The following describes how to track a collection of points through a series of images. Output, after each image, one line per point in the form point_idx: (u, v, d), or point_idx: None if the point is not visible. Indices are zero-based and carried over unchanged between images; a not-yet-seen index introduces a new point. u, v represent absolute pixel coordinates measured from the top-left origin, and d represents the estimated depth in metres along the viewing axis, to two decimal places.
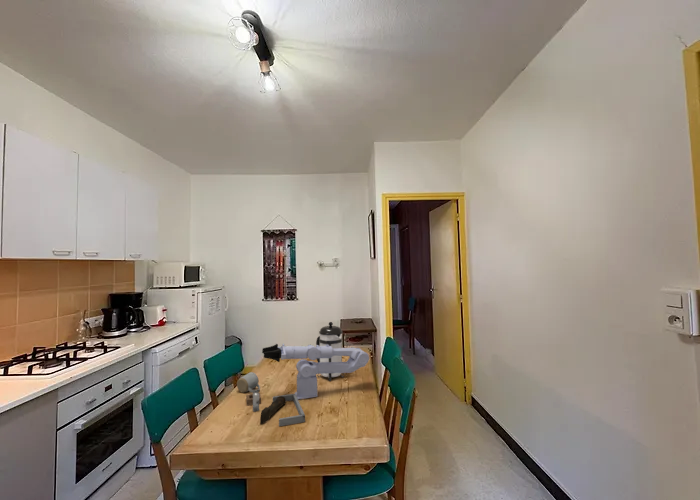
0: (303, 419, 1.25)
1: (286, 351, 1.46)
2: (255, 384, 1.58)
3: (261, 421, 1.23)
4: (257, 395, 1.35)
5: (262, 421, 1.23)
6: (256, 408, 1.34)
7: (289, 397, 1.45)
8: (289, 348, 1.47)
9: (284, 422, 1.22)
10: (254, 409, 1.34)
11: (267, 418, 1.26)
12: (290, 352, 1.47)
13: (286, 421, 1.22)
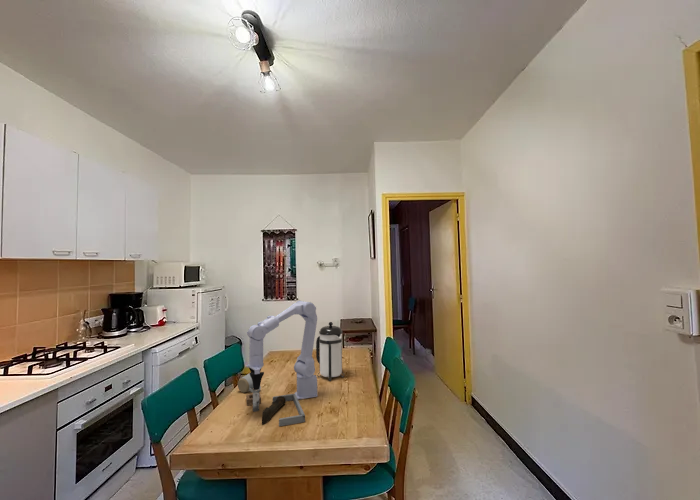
0: (303, 419, 1.25)
1: (253, 364, 1.33)
2: None
3: (262, 421, 1.23)
4: (257, 395, 1.35)
5: (263, 421, 1.23)
6: (256, 408, 1.34)
7: (289, 397, 1.45)
8: (250, 360, 1.34)
9: (284, 422, 1.22)
10: (254, 409, 1.34)
11: (268, 418, 1.26)
12: (255, 359, 1.34)
13: (286, 421, 1.22)
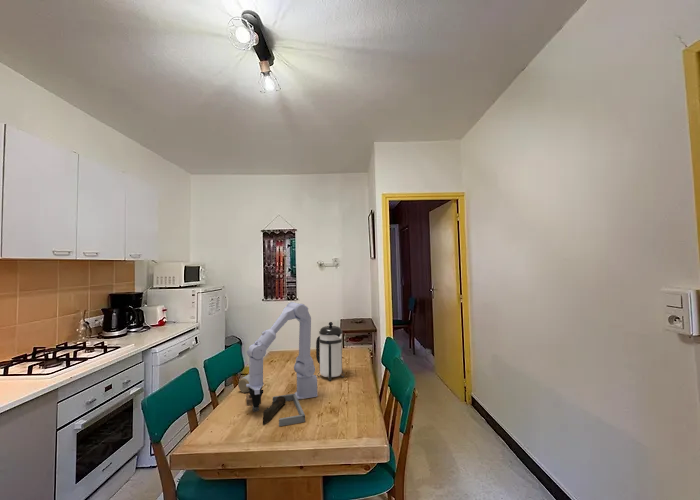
0: (303, 419, 1.25)
1: (253, 383, 1.33)
2: None
3: (263, 421, 1.23)
4: None
5: (264, 421, 1.23)
6: (256, 408, 1.34)
7: (289, 397, 1.45)
8: (250, 379, 1.34)
9: (284, 422, 1.22)
10: (254, 409, 1.34)
11: (269, 418, 1.26)
12: (254, 379, 1.33)
13: (286, 421, 1.22)
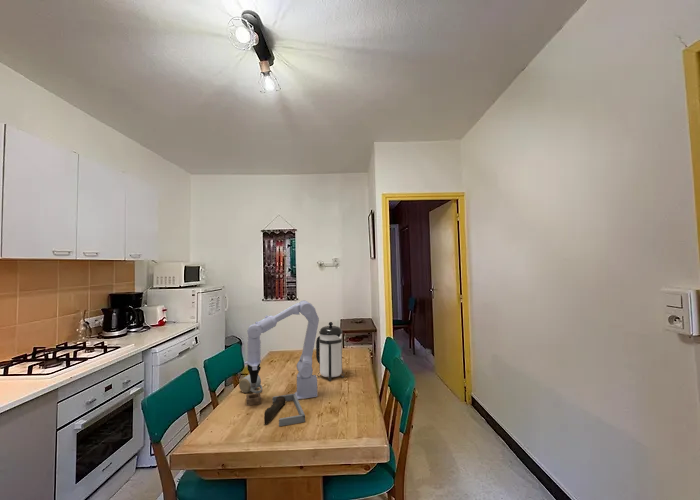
0: (303, 419, 1.25)
1: (251, 360, 1.42)
2: (257, 384, 1.57)
3: (265, 421, 1.23)
4: None
5: (266, 421, 1.23)
6: (253, 384, 1.43)
7: (289, 397, 1.45)
8: (248, 357, 1.42)
9: (284, 422, 1.22)
10: (252, 385, 1.43)
11: (270, 418, 1.26)
12: (252, 356, 1.42)
13: (286, 421, 1.22)
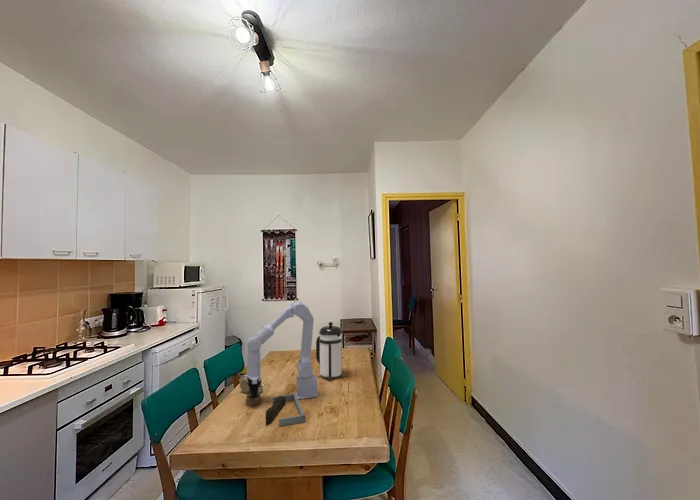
0: (303, 419, 1.25)
1: (251, 374, 1.41)
2: None
3: (267, 421, 1.23)
4: None
5: (267, 421, 1.23)
6: None
7: (289, 397, 1.45)
8: (248, 370, 1.42)
9: (284, 422, 1.22)
10: None
11: (271, 418, 1.26)
12: (252, 369, 1.42)
13: (286, 421, 1.22)
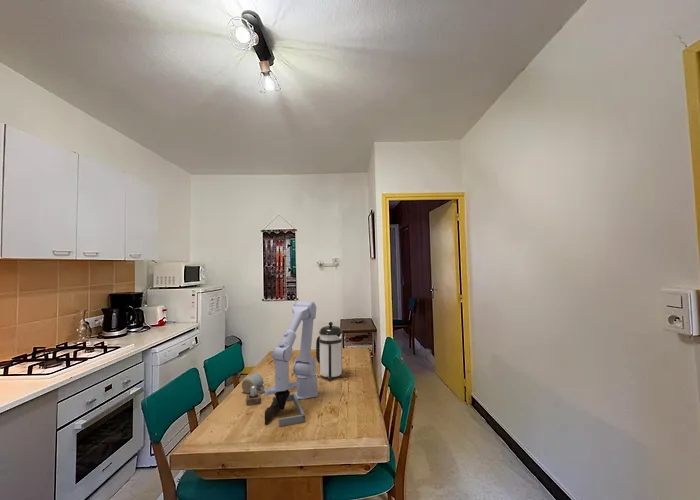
0: (303, 419, 1.25)
1: (275, 384, 1.33)
2: (260, 385, 1.56)
3: (266, 421, 1.23)
4: (255, 388, 1.43)
5: (266, 421, 1.23)
6: None
7: (289, 397, 1.45)
8: None
9: (284, 422, 1.22)
10: None
11: (270, 418, 1.26)
12: (275, 380, 1.33)
13: (286, 421, 1.22)
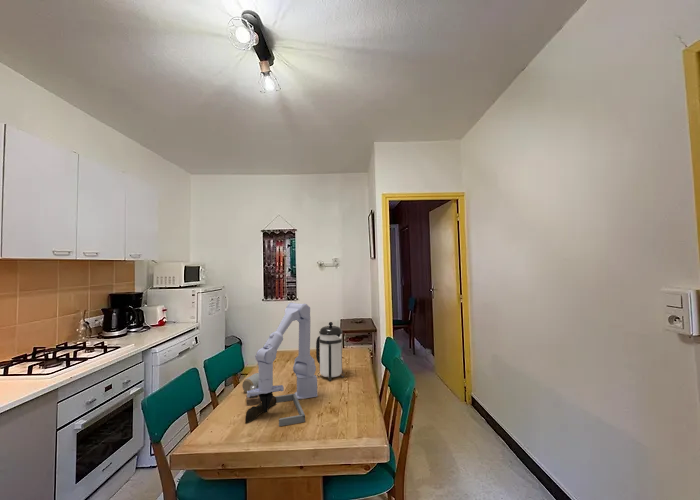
0: (303, 419, 1.25)
1: None
2: None
3: (246, 420, 1.24)
4: (255, 388, 1.43)
5: (247, 420, 1.24)
6: None
7: (289, 397, 1.45)
8: None
9: (284, 422, 1.22)
10: None
11: (253, 417, 1.27)
12: None
13: (286, 421, 1.22)
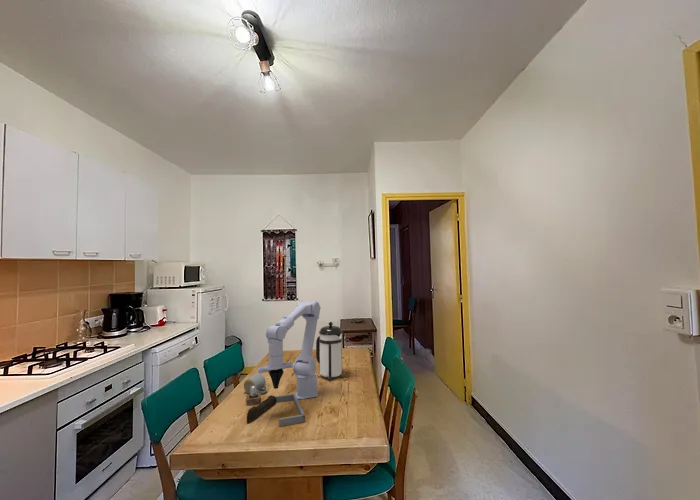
0: (303, 419, 1.25)
1: None
2: (262, 385, 1.56)
3: (247, 420, 1.24)
4: (255, 388, 1.43)
5: (249, 420, 1.24)
6: None
7: (289, 397, 1.45)
8: None
9: (284, 422, 1.22)
10: None
11: (254, 417, 1.27)
12: (269, 359, 1.32)
13: (286, 421, 1.22)
